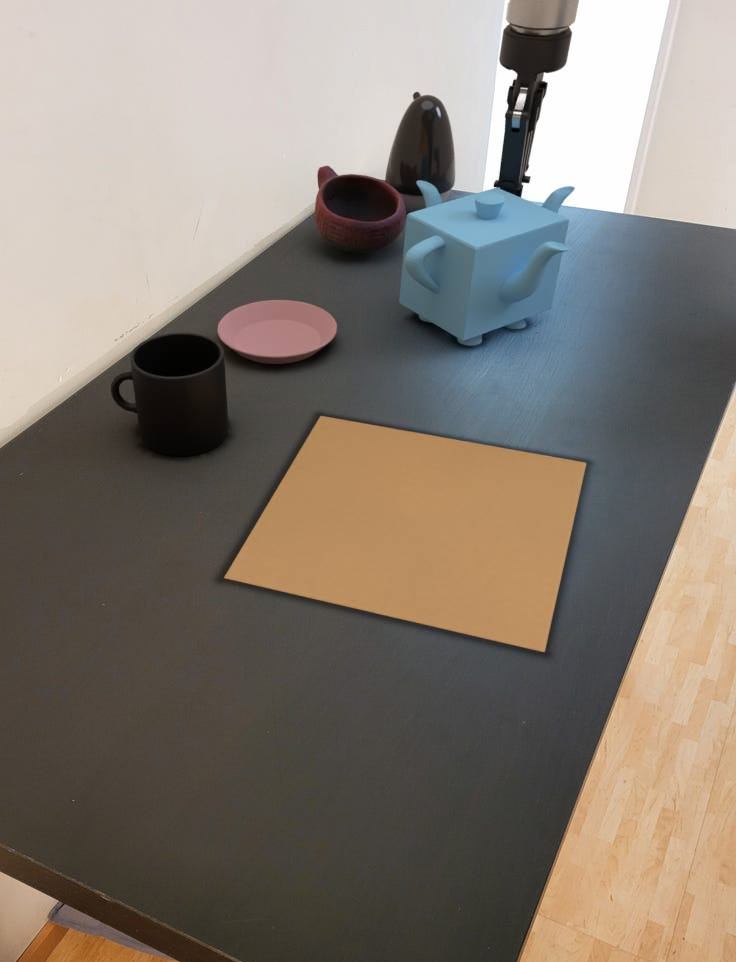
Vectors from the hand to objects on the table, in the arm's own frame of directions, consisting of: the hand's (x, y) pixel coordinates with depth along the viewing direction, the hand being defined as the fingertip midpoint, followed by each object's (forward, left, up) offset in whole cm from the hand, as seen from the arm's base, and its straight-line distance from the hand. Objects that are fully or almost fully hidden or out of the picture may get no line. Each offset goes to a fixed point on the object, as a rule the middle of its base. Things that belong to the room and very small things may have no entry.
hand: (502, 237), depth 121 cm
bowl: (+22, -4, -5) cm, 23 cm away
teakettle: (0, +13, -5) cm, 14 cm away
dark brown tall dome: (+16, -20, -5) cm, 26 cm away
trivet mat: (-2, +54, -5) cm, 55 cm away
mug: (+26, +48, -5) cm, 55 cm away
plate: (+22, +26, -5) cm, 35 cm away
